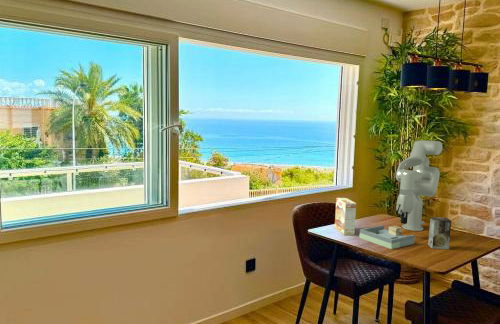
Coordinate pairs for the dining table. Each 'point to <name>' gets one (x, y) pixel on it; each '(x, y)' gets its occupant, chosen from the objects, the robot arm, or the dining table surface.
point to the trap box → (385, 237)
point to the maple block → (395, 230)
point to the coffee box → (439, 233)
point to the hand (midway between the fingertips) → (403, 223)
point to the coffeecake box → (345, 216)
